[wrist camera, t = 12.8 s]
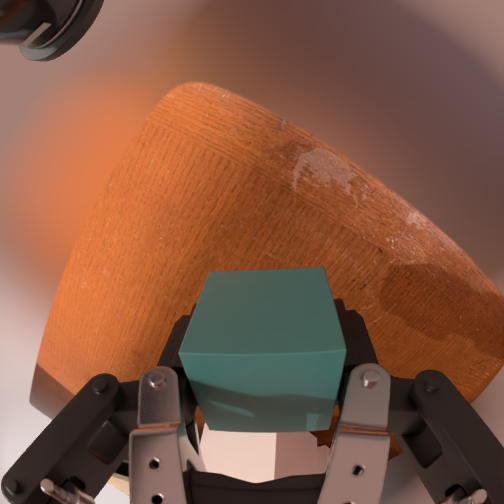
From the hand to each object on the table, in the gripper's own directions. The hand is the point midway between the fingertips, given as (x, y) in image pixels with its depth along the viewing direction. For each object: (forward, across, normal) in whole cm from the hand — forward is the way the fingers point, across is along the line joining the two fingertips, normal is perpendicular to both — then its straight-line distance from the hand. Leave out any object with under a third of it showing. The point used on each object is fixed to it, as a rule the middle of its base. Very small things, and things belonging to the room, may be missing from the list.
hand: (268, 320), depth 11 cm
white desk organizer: (+10, -1, +34) cm, 36 cm away
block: (0, 0, 0) cm, 0 cm away
